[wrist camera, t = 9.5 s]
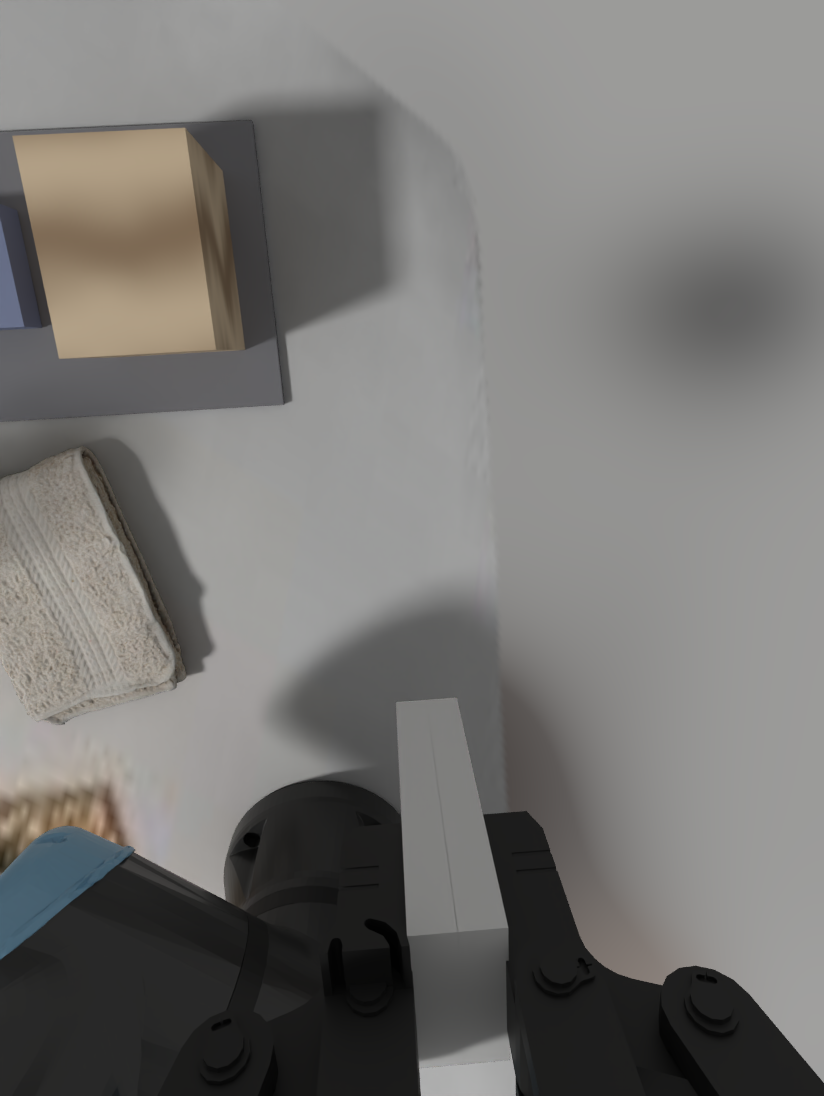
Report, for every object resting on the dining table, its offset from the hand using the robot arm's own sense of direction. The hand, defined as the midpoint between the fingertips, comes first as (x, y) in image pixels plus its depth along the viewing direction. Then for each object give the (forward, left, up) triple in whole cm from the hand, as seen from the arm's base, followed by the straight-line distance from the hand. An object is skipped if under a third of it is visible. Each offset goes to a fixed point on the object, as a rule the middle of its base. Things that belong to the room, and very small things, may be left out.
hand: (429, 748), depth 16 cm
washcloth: (-5, +23, -30) cm, 38 cm away
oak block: (+15, +13, -29) cm, 35 cm away
